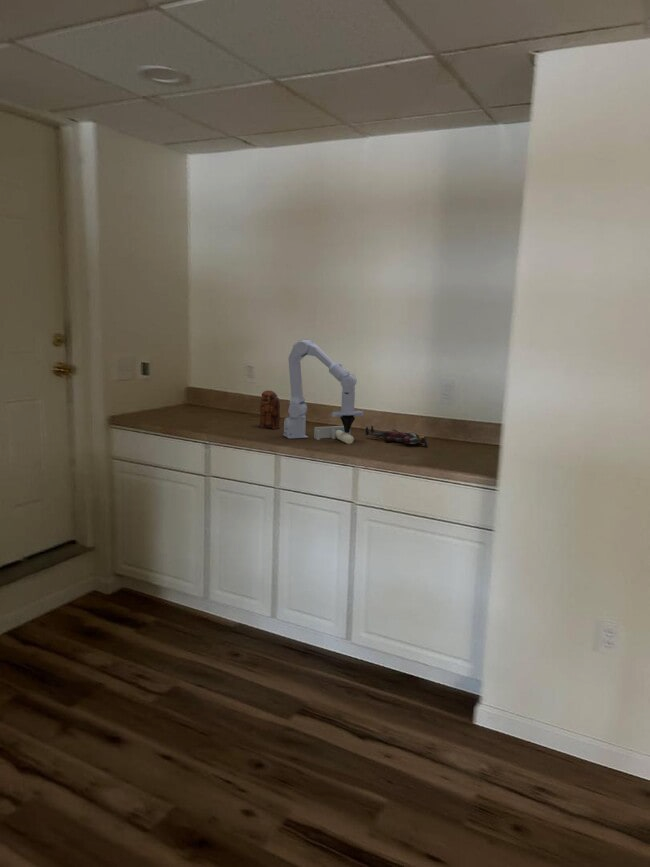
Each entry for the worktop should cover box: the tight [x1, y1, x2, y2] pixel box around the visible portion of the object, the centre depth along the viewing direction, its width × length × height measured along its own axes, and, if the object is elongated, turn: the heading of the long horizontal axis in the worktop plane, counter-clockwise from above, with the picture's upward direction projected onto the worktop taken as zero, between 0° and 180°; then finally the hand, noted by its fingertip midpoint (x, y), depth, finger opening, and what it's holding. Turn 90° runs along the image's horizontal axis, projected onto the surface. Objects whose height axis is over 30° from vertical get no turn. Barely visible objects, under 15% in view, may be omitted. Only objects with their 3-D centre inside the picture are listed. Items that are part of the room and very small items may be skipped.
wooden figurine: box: [259, 389, 281, 430], centre depth 317 cm, size 12×6×18 cm, turn 59°
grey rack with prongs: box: [313, 425, 351, 441], centre depth 298 cm, size 16×4×5 cm, turn 112°
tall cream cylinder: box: [335, 430, 354, 445], centre depth 293 cm, size 12×4×4 cm
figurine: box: [365, 425, 429, 448], centre depth 294 cm, size 13×6×30 cm
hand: (346, 432), depth 292 cm, fingers closed
